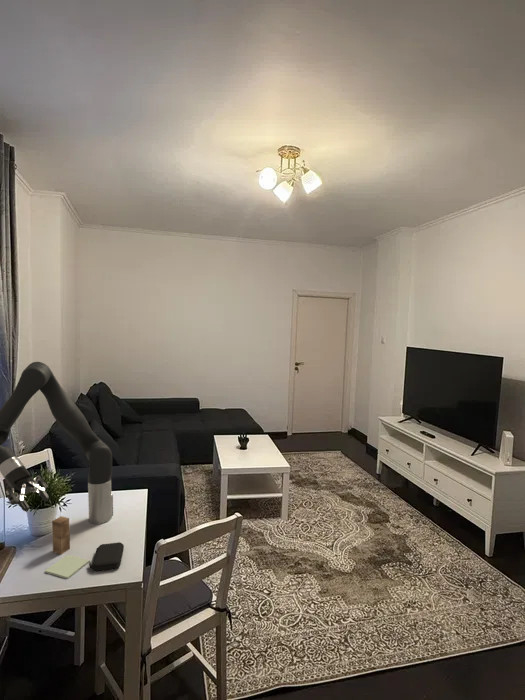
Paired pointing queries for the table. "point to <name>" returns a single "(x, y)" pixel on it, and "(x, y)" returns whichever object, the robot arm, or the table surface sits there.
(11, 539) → the table surface
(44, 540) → the table surface
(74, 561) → the sage mat
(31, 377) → the robot arm
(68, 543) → the walnut handle block
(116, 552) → the carrying case or bag
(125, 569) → the table surface
